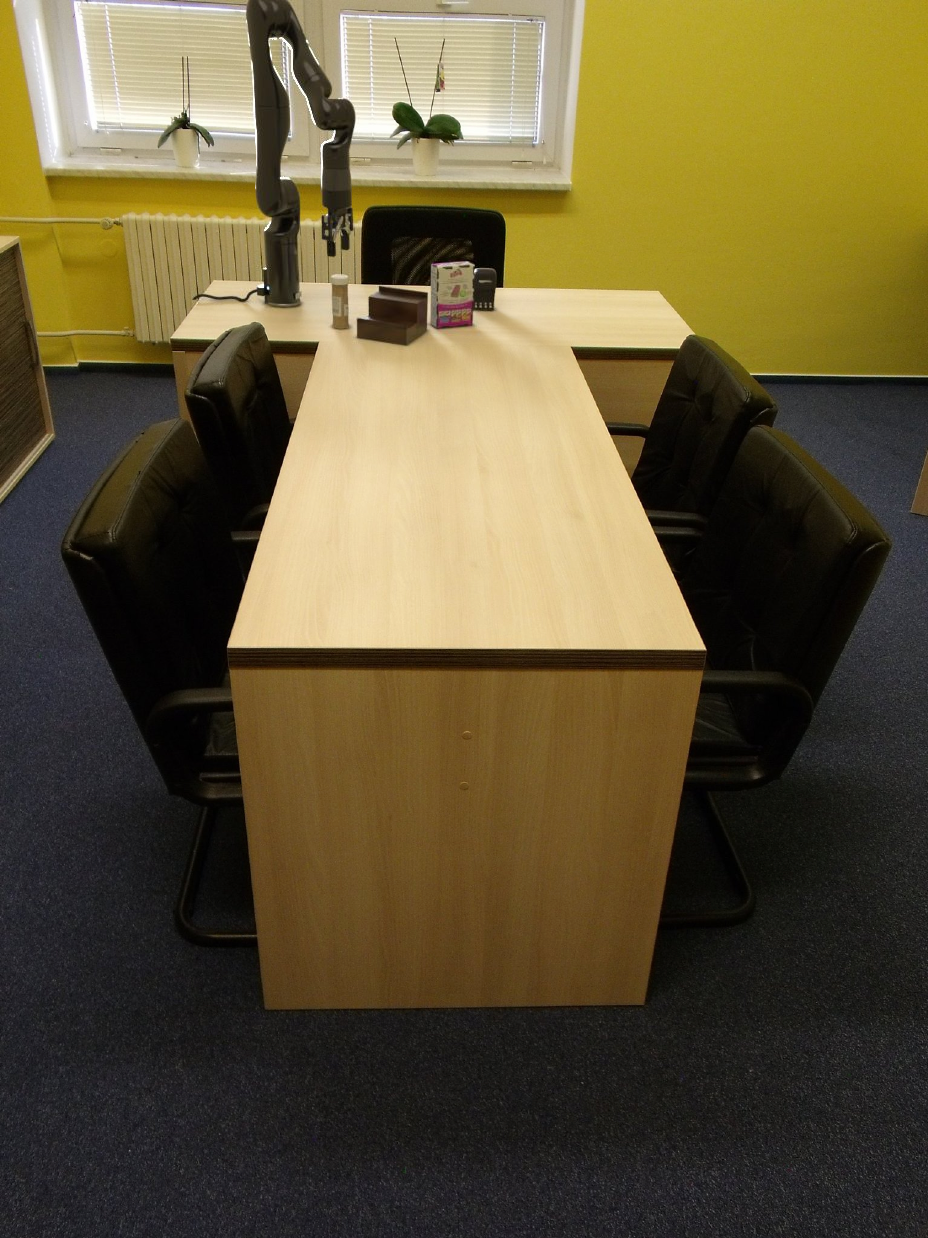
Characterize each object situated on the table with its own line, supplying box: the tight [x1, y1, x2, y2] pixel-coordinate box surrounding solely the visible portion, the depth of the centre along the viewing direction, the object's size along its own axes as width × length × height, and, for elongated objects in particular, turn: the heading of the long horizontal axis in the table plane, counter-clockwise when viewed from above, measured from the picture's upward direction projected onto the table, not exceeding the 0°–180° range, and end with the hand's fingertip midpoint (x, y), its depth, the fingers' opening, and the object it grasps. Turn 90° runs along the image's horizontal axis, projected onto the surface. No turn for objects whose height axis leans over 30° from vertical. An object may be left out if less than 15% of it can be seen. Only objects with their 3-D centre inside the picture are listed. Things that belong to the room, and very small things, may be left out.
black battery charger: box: [473, 267, 498, 311], centre depth 291 cm, size 7×4×11 cm, turn 95°
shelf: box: [356, 285, 429, 346], centre depth 267 cm, size 14×15×10 cm
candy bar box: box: [429, 260, 476, 330], centre depth 275 cm, size 11×5×16 cm, turn 115°
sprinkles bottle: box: [330, 273, 350, 330], centre depth 270 cm, size 5×5×13 cm
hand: (338, 252), depth 265 cm, fingers open, 8 cm apart
